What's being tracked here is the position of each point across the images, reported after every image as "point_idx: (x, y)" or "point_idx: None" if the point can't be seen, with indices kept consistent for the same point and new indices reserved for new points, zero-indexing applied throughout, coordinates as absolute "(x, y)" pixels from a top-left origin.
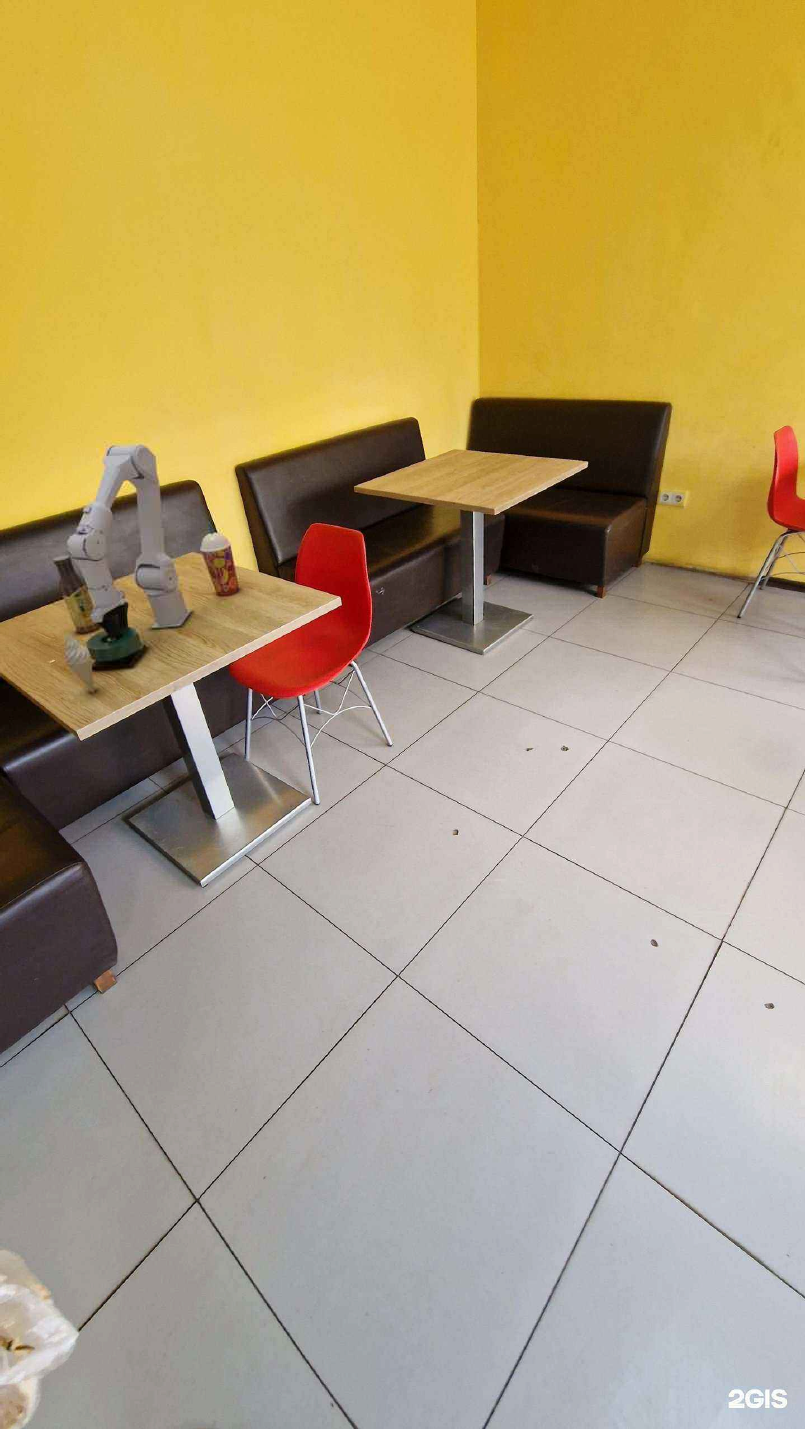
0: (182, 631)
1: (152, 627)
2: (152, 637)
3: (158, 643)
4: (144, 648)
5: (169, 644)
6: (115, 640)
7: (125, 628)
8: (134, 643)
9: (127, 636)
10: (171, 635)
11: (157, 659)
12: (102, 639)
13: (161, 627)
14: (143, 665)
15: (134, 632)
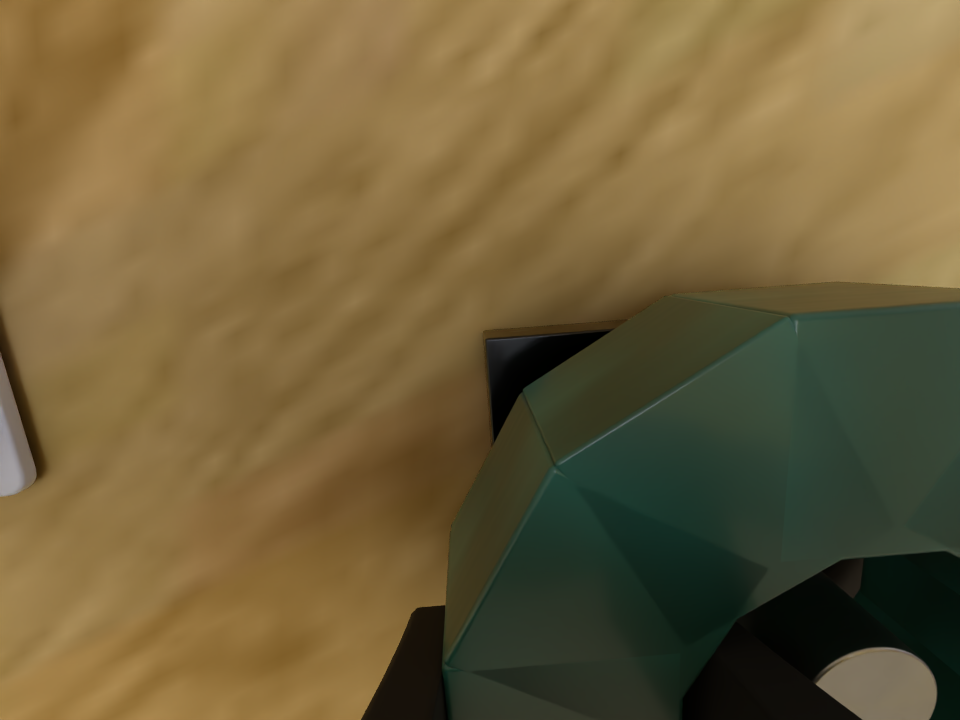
0: (64, 52)
1: (25, 476)
2: (235, 385)
3: (379, 245)
4: (540, 330)
5: (412, 84)
6: (877, 631)
7: (530, 662)
8: (940, 287)
9: (912, 458)
10: (180, 165)
11: (767, 76)
12: None
13: (5, 374)
14: (869, 190)
15: (759, 392)
